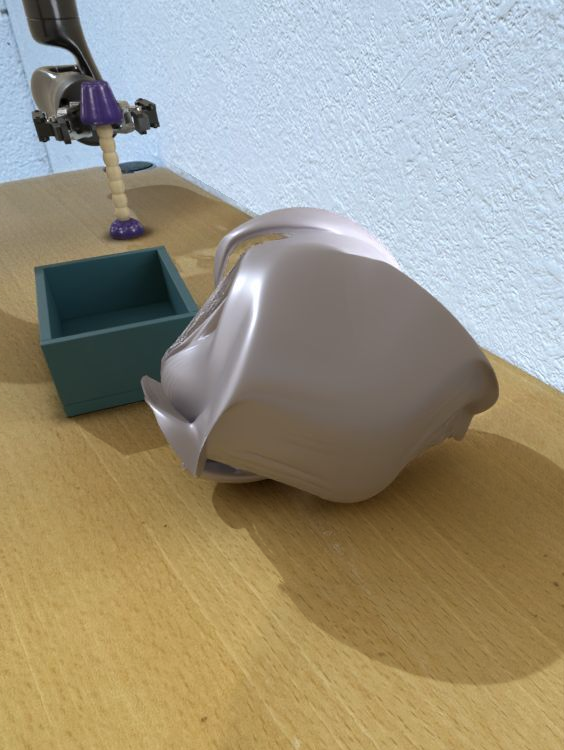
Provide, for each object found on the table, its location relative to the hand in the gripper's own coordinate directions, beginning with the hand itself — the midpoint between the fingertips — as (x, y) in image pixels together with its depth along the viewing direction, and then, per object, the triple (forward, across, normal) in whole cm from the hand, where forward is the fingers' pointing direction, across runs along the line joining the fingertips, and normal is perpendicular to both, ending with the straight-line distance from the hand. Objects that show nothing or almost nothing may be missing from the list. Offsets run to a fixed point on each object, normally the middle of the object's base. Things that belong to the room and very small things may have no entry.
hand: (105, 129), depth 80 cm
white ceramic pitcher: (+58, +2, +12) cm, 59 cm away
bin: (+34, -6, +12) cm, 36 cm away
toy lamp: (-1, 0, +12) cm, 12 cm away
